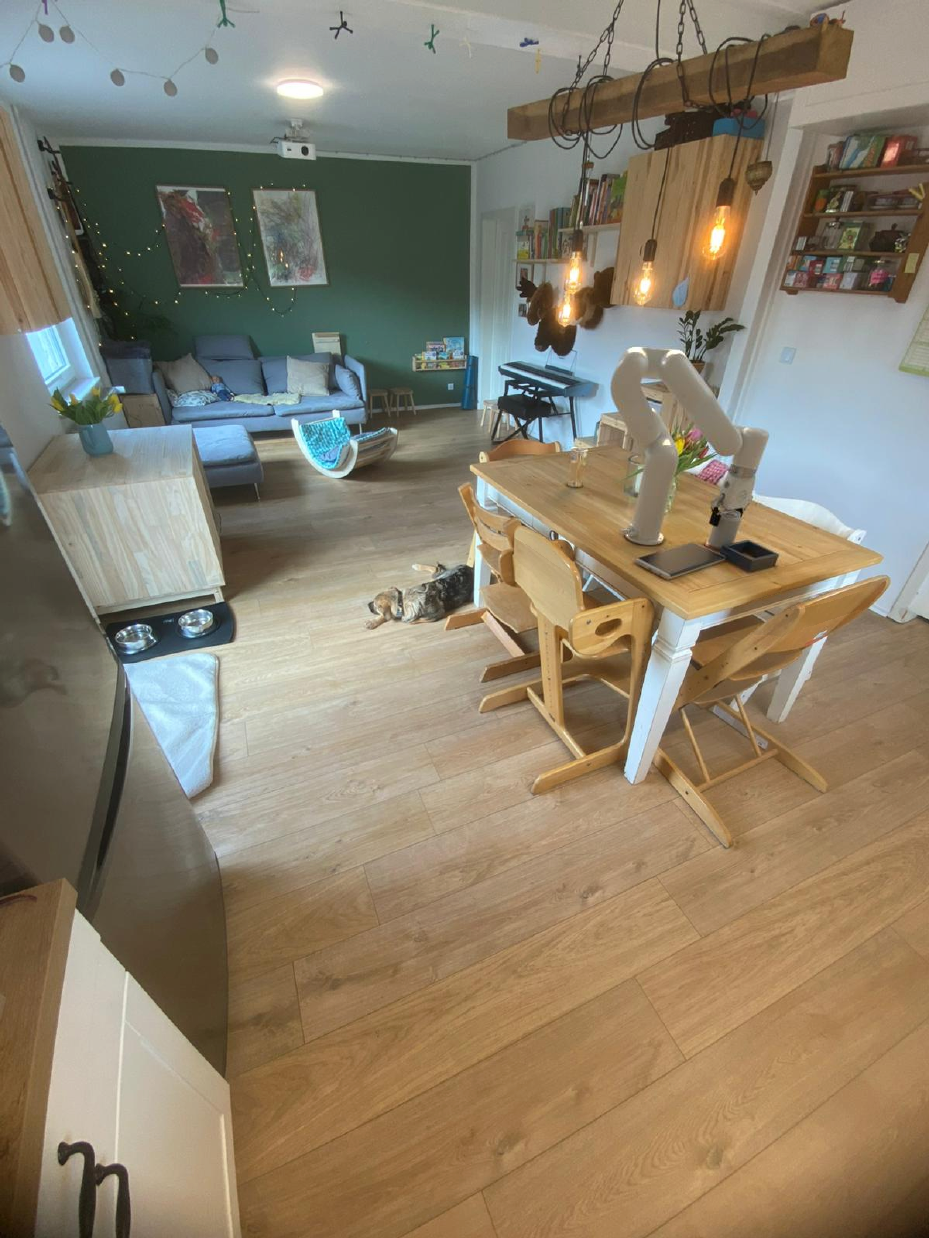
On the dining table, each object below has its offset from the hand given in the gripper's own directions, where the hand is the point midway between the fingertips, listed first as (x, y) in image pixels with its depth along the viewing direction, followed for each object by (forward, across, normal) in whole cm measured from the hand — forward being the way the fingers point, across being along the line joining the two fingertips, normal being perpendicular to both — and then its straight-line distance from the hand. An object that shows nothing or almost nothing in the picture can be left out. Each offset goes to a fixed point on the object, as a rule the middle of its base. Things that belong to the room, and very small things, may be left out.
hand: (724, 523), depth 171 cm
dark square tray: (+8, +1, -12) cm, 14 cm away
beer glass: (+10, -9, +69) cm, 70 cm away
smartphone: (+9, -20, -4) cm, 22 cm away
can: (+8, +1, -1) cm, 8 cm away
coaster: (+8, +1, -1) cm, 8 cm away
